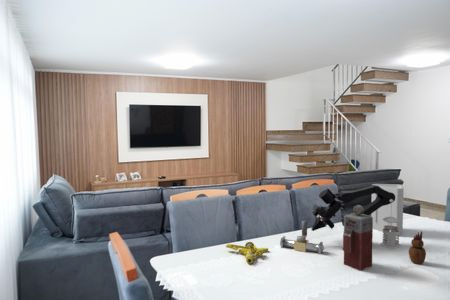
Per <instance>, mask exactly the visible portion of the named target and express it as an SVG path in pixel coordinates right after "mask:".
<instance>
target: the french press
mask: <svg viewBox="0 0 450 300" xmlns="http://www.w3.org/2000/svg"><path fill="white" fill-rule="evenodd" d="M390 202H391V211H392V202H393V200H392V199H390ZM383 220H384V221H386V222H388V225H387V226H384V229H383V232H382V241H381V243H380V244H381V246H383V247H385V248H389V249H390V248H391V249H398V248H401V244H400V241H399V240H400V236H398V235H399V230H397V229H398V227H396V226H392V223H398V222H399V220H398V219H397V218H394V217H385V218H384V219H383ZM389 222H390V223H391V226H390V225H389ZM389 230H391V232H389Z"/></svg>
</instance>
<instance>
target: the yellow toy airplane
mask: <svg viewBox="0 0 450 300" xmlns="http://www.w3.org/2000/svg"><path fill="white" fill-rule="evenodd" d="M225 248H228V249H231V250H234V251H238V253H240V254H242V255H244V256H245V260H246V263H247V264H253V262H254V260H255V261H257V257H261V256H263V255H264V252H268V251H269V248H268V247H260V248H257V246H256V245H255V244H254V242H253V241H247V242H246V243H245V244H244V246H243V245H240V244H239V245H238V244H232V243H227V244H226V245H225Z"/></svg>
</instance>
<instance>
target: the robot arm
mask: <svg viewBox="0 0 450 300" xmlns="http://www.w3.org/2000/svg"><path fill="white" fill-rule="evenodd" d="M374 193H375V194H376V195H377V197H376V199H375V200H374V201H373V202H372V201H371V202H370V203H368V204H367V205H365V207H364V206H363V208H364V212H363V214H365V215H369V216H371V214H372V213H373V212H374V211H376V210H377V209H379V208H380V207H381V206H385V205H388V204H390V203H391V202H390V199H392V200H393V202H394V201H395V195H394V193H391V192H388V191H385V190H384V189H382V188H380V187H379V186H376V185H372V184H371V185H369V186H365V187H363V188H358V189H355V190H341V191H338V192H337V193H333V192H332V190H330V188H326V189H324V190H322V191H321V192H319V194H318V198H320V200H322V201H323V203H324V204H326V205H327V206H322V205H320V206H319V205H317V204H313V207H312V210H313V211H312V212H311V214H312V215H313V216H314V219H315V220H314V223H313V225H312V227H311V231H313V232H315V231H317V230H319V229H323V228H326V227H327V226H328V227H329V229H331V230H333V228H335V223H334V222H333V221H332V220H331V219H332V218H333V217H334V218H335V217H337V216H336V214H337V213H338V212H339V211H340V210H341V209H342V210H344V211H345V210H346V204H349V203H351V202H354V200H355V199H358V198H361V197H366V196H369V195H372V194H374ZM348 214H351V213H350V212H349V213H348ZM341 225H342V226H343V227H344V218H343V219H342V220H341Z"/></svg>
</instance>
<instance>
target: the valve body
mask: <svg viewBox="0 0 450 300" xmlns="http://www.w3.org/2000/svg"><path fill="white" fill-rule="evenodd" d="M279 244H280V245H279V246H280V248H284V247H285V248H290V249H293V250H294V251H297V252H304V253H306V252H307V251H308V252H314V253H318V254H319V255H321V254H323V253H324V244H323V241H320V242H319V243H312V242H309V239H306V241H305V242H299V241H297V238H296V239H294V240H293V239H287V238H286V236H284V235H283V236H282V237H281V238H280V241H279Z"/></svg>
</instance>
